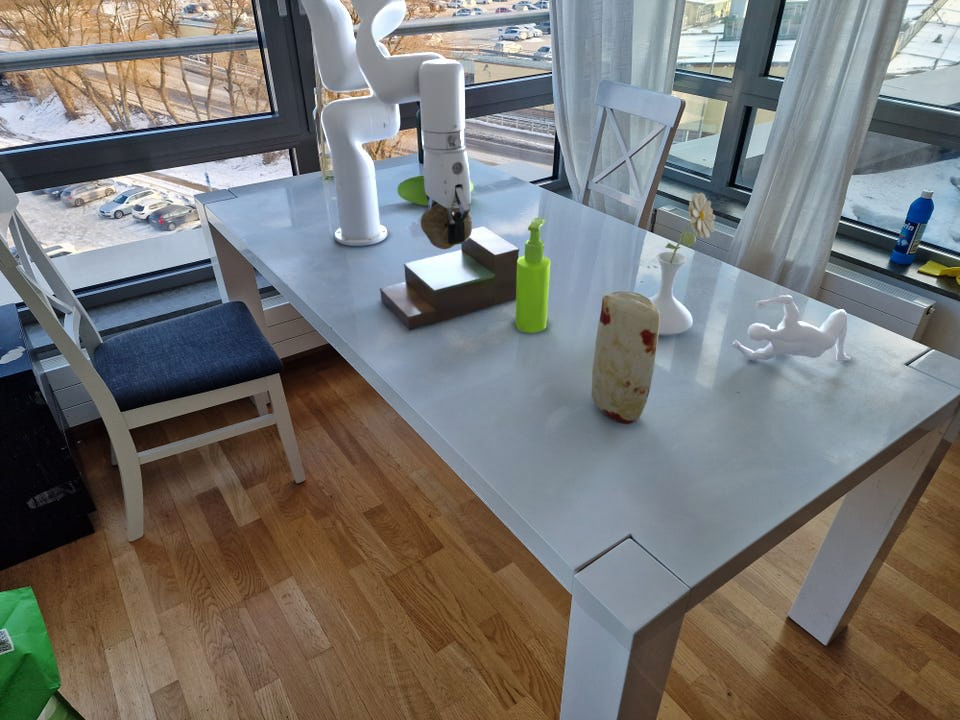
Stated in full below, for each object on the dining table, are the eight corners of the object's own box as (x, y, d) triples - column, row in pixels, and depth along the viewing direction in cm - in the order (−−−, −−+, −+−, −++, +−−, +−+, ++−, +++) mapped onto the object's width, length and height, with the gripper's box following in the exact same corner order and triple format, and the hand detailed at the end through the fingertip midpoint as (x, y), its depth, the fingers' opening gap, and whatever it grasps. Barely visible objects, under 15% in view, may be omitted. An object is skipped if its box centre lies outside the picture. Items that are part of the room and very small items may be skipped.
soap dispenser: (551, 317, 121) (557, 217, 110) (542, 335, 116) (548, 232, 105) (521, 312, 123) (525, 213, 112) (511, 329, 117) (514, 228, 106)
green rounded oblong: (415, 179, 162) (482, 172, 171) (396, 175, 172) (460, 169, 181) (417, 210, 165) (483, 202, 174) (398, 205, 174) (461, 197, 184)
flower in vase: (656, 347, 112) (680, 212, 98) (616, 319, 120) (633, 190, 107) (710, 329, 117) (741, 198, 103) (668, 303, 125) (692, 179, 112)
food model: (578, 406, 98) (590, 292, 87) (606, 389, 102) (620, 277, 90) (628, 437, 92) (648, 318, 81) (656, 418, 95) (679, 302, 84)
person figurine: (818, 278, 110) (762, 289, 100) (883, 322, 103) (830, 339, 93) (777, 336, 118) (722, 352, 108) (835, 380, 111) (782, 402, 101)
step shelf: (381, 301, 127) (375, 250, 121) (483, 274, 137) (483, 226, 131) (409, 331, 117) (405, 277, 111) (517, 299, 127) (519, 248, 121)
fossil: (413, 215, 115) (455, 192, 119) (408, 226, 119) (449, 203, 123) (441, 254, 115) (483, 230, 119) (436, 264, 119) (476, 240, 123)
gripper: (488, 147, 105) (488, 247, 115) (439, 125, 117) (443, 218, 127) (448, 154, 101) (451, 256, 111) (403, 131, 114) (409, 225, 124)
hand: (447, 235), depth 119 cm, fingers closed on fossil, 6 cm apart
